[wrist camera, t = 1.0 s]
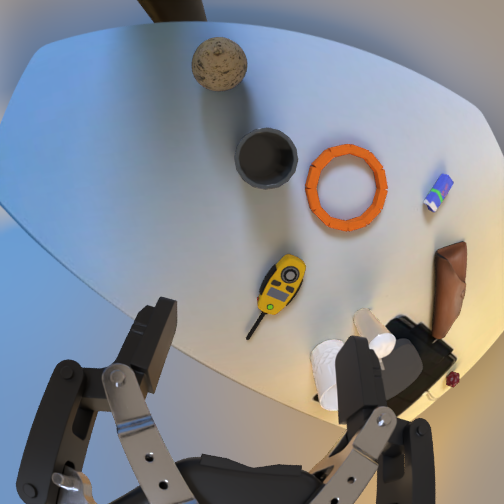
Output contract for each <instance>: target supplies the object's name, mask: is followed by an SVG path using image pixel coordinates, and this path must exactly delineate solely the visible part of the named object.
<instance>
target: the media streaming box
mask: <svg viewBox="0 0 504 504" xmlns="http://www.w3.org/2000/svg"><path fill="white" fill-rule="evenodd" d="M381 359H382V362H383V365H384V368H385V370H382V369H381V366H380V370H381V373H382V379H383V384H384V390H385V396H386V400H388V399H390V398H392V397H393V396H395V395H397V394H398V393H400V392H401V391H403V390H404V389H405V388H407V387H408V386H409V385H410V384H411V383H412V382H414V381H415V379H416V378H417V377H418V376H419V374H420V373H421V371H422V369H423V365H422V361H421V359H420V356H419V354H418V352H417V351H416V349H415V347H414V346H413V345H412V343H411V342H410V340H408V339H404V338H403V339H398V340H396V343H395V346H394V348H393V350H392V351H391V353H390V354H389V355H387V356H385V357H383V358H381ZM379 363H380V362H379Z"/></svg>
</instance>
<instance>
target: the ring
mask: <svg viewBox="0 0 504 504" xmlns="http://www.w3.org/2000/svg"><path fill="white" fill-rule="evenodd" d="M346 154H352V155H354V156H357V157H360V158H363V159H364V160H365V162H366V163H367V164H368V165H369V166H370V168H371V169H372V170H373V171H374V176H375V181H376V187H377V189H376V192H375V196H374V199H373V203H372V205H371V206H370V207H369V208H368V209H367V210H366V211H365V212H364V213H363V214H362V215H361V216H359V217H356V218H353V219H350V220H346V221H345V220H341V219H337V218H333V217H330V216H329V215H328V213H327V212H326V211H325V210H324V209H323V208H322V207H321V206H320V201H319V197H318V193H317V189H316V188H317V184H318V180H319V176H320V173H321V170H322V169H323V168H324V167H325V166H326V165H327V164H328V163H329V162H330V161H331V160H332V159H333V158H334V157H338V156H342V155H346ZM312 165H313V166H314V167H312V166H310V168H309V172H308V176H307V180H306V184H305V186H306V187H307V188H305V191H306V195H307V199H308V202H309V206H310V209H312V212H313V213H314V214H315V215H316V216H317V217H318V218H319V219H320V220H321V221H322V222H323V223H324V224H325V225H326V226H328V227H330V228H334V229H338V230H342V231H346V232H347V230H348V231H352V230H356V229H359V228H362V227H365V226H366V224H368V225H369V224H370V222H371V221H372V220H373V219H374V218H375V217H376V216H377V215H378V214H379V213H380V212H381V210H380V209H383V205H384V202H385V199H386V195H387V192H388V191H387V190H385V189H388V186H387V181H386V175H385V170H384V169H382V168H383V166H382V165H381V164H380V162H379V161H378V160H377V159H376V157H375V156H374V155H373V154H372V152H369V150H366V149H363V148H361V147H358V146H355V145H352V144H344V145H339V146H335V147H331V148H328V150H324V151H323V152H322V153H321V154H320V156H319V157H318V158H317V159H316V160H315V161H314V162H313V163H312Z"/></svg>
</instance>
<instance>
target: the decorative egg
mask: <svg viewBox="0 0 504 504" xmlns="http://www.w3.org/2000/svg"><path fill="white" fill-rule="evenodd" d="M246 71H247V59H246V55H245V53H244V51H243V50H242V49H241V47H240V46H239V45H238V44H236V43H235V42H233V41H232V40H230V39H227V38H223V37H215V38H210V39H208V40H206V41H204V42H203V43H202V44H201V45H200V46H199V47H198V48H197V49H196V51H195V53H194V55H193V59H192V72H193V75H194V77H195V79H196V80H197V81H198V83H199V84H200V85H202V86H203V87H205V88H206V89H209V90H212V91H226V90H229V89H232V88H234V87H235V86H237V85H238V84H239V83H240V82H241V81H242V80H243V78H244V76H245V74H246Z"/></svg>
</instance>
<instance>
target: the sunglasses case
mask: <svg viewBox="0 0 504 504" xmlns="http://www.w3.org/2000/svg"><path fill="white" fill-rule="evenodd" d="M466 268H467V245H466V243H465V242H459V243H455V244H452V245H449V246H446V247H443V248H441V249H438V250H437V251H436V257H435V270H436V292H435V307H434V317H433V325H432V336H433V337H435V338H437V339H442V338H444V337H445V336H446V334H447V333H448V331H449V329H450V328H451V326H452V324H453V323H454V321H455V320H456V319H457V317H458V316H459V314H460V311H461V307H462V302H463V299H464V296H465V290H466V283H465V278H466Z"/></svg>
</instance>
